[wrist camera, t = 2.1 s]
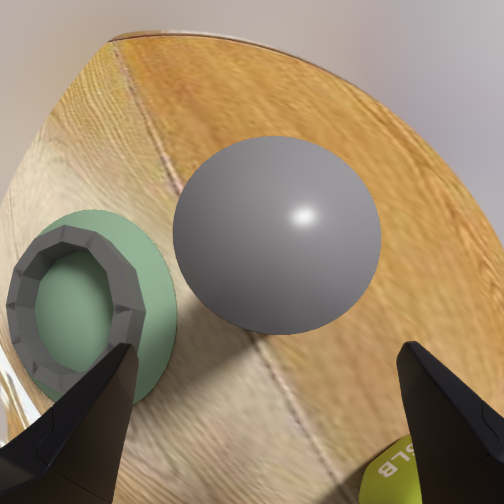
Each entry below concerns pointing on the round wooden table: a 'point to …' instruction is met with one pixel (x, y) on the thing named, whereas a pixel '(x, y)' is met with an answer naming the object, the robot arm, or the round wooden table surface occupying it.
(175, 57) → the round wooden table surface
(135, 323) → the green round disc
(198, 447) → the round wooden table surface
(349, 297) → the white gray-capped cylinder
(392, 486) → the dumbbell
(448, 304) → the round wooden table surface
